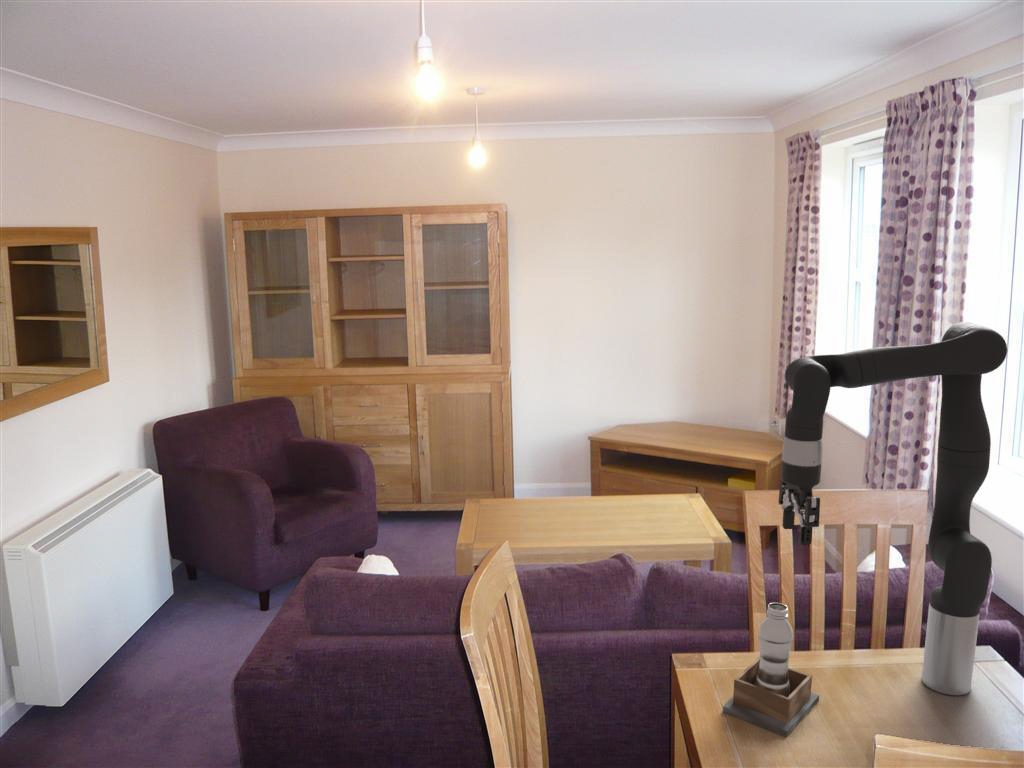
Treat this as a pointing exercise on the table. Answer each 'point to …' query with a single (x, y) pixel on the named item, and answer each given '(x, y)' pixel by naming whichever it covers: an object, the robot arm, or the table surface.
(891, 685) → the table surface
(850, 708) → the table surface
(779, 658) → the metal bottle
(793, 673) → the bottle holder
